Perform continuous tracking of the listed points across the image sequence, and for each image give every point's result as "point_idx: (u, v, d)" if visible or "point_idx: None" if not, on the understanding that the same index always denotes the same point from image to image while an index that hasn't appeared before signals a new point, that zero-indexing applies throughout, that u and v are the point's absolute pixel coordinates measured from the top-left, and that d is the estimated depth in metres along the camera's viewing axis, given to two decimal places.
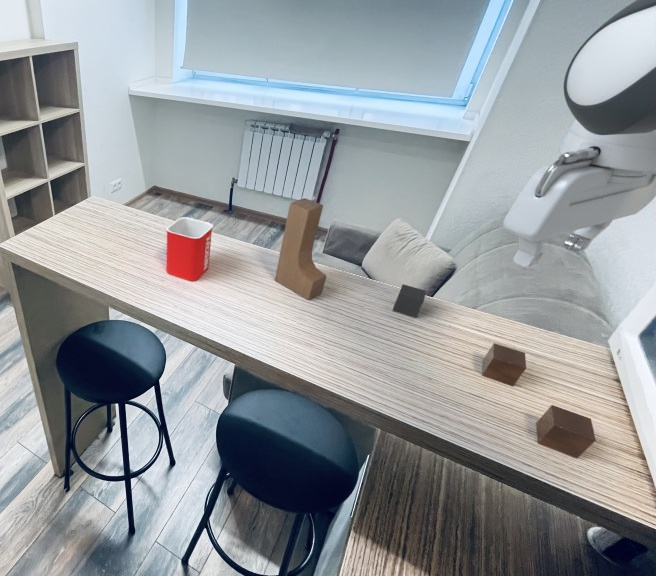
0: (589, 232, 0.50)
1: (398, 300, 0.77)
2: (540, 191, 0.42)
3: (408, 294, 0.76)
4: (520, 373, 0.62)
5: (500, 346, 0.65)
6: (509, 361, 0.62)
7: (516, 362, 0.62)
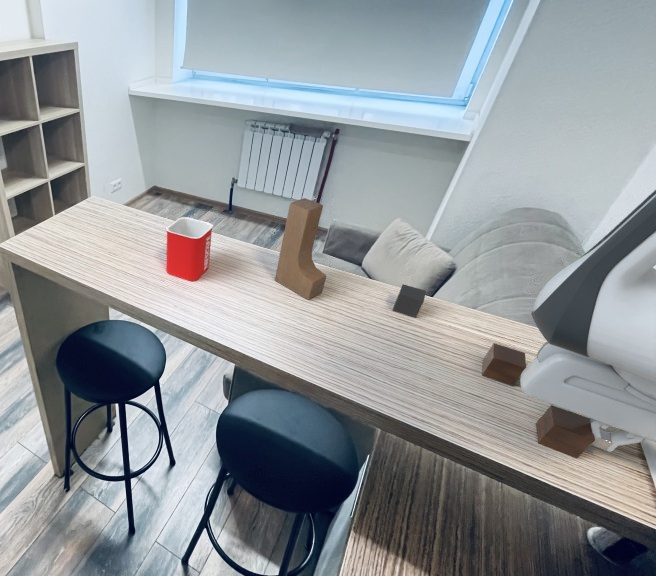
0: (618, 437, 0.51)
1: (398, 300, 0.77)
2: (537, 356, 0.52)
3: (408, 294, 0.76)
4: (520, 373, 0.62)
5: (500, 346, 0.65)
6: (509, 361, 0.62)
7: (516, 362, 0.62)
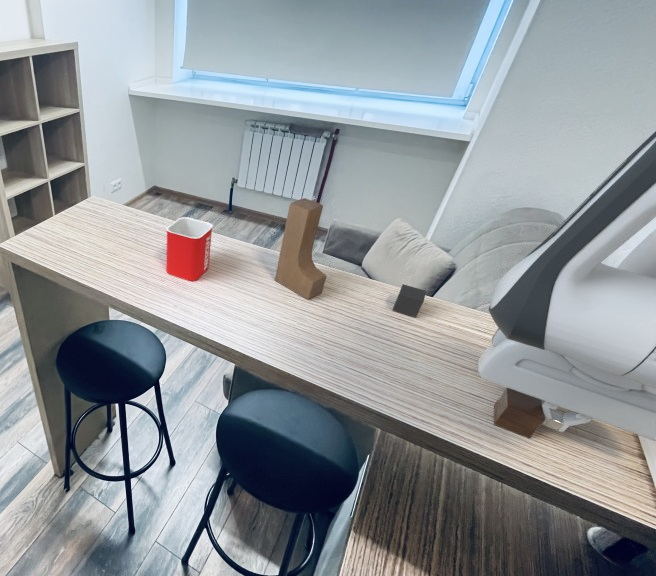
0: (568, 418, 0.53)
1: (398, 300, 0.77)
2: (492, 341, 0.54)
3: (408, 294, 0.76)
4: None
5: None
6: None
7: None
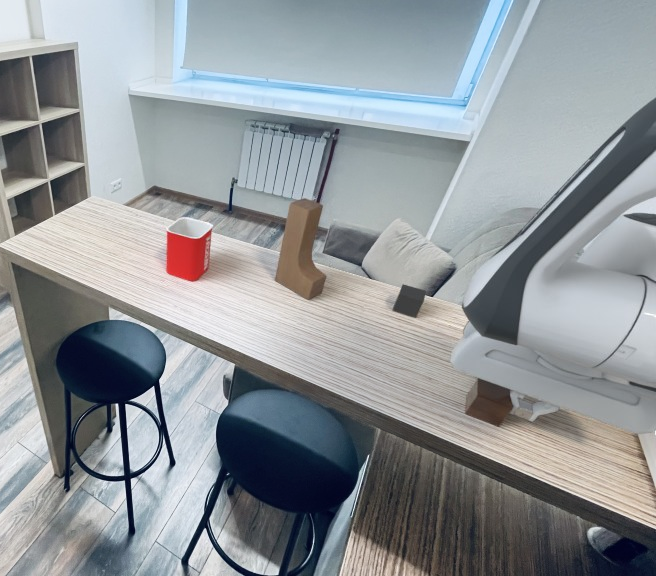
0: (538, 407, 0.55)
1: (398, 300, 0.77)
2: (463, 333, 0.56)
3: (408, 294, 0.76)
4: None
5: None
6: None
7: None
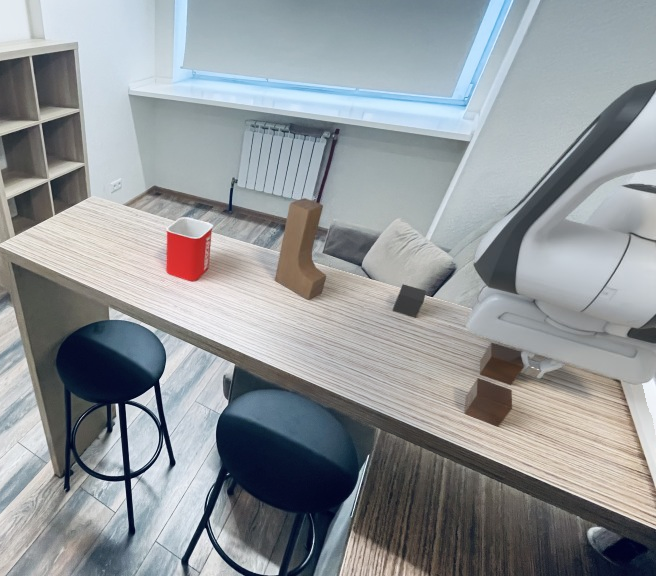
0: (545, 365, 0.61)
1: (398, 300, 0.77)
2: (478, 299, 0.62)
3: (408, 294, 0.76)
4: (518, 372, 0.62)
5: (498, 345, 0.65)
6: (507, 360, 0.62)
7: (514, 361, 0.62)
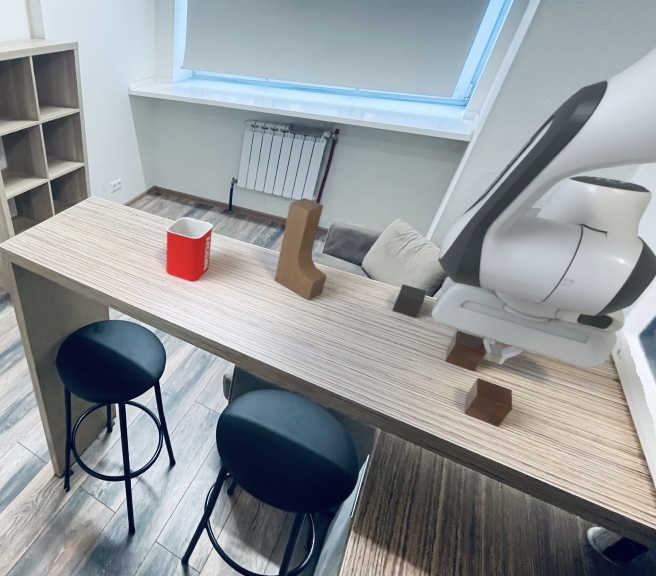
0: (506, 352, 0.63)
1: (398, 300, 0.77)
2: (442, 288, 0.64)
3: (408, 294, 0.76)
4: (480, 358, 0.64)
5: (463, 333, 0.67)
6: (470, 347, 0.65)
7: (476, 348, 0.64)
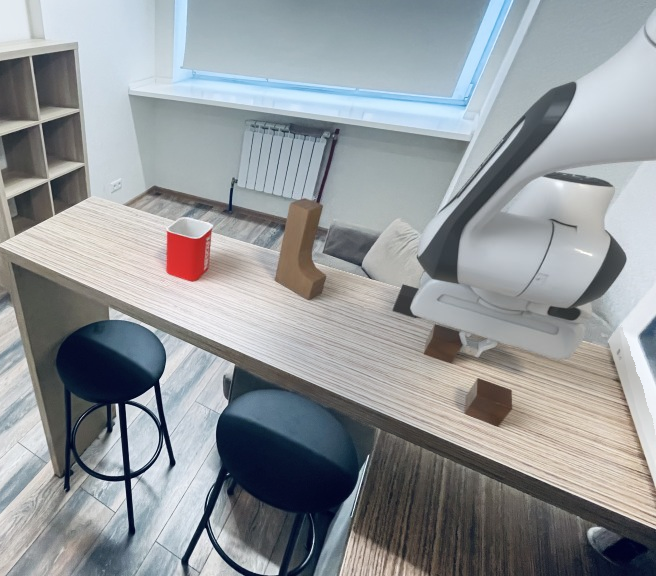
0: (482, 344, 0.65)
1: (398, 300, 0.77)
2: (420, 282, 0.66)
3: (408, 294, 0.76)
4: (456, 351, 0.66)
5: (441, 326, 0.69)
6: (447, 339, 0.66)
7: (453, 341, 0.66)
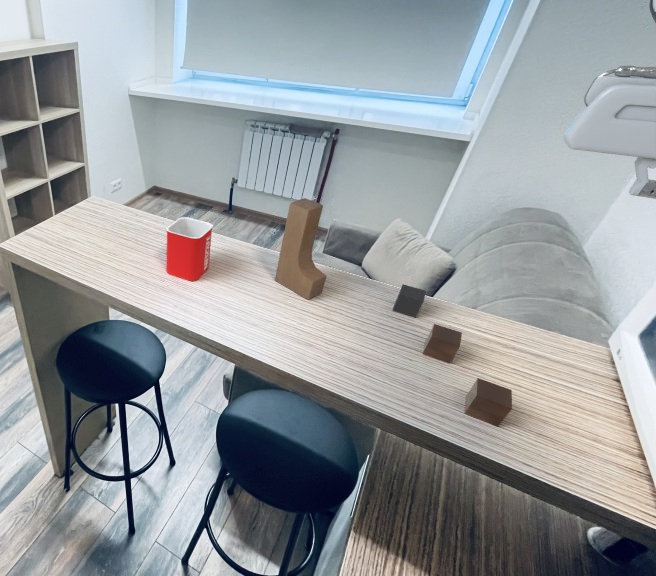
0: None
1: (398, 300, 0.77)
2: (585, 99, 0.49)
3: (408, 294, 0.76)
4: (455, 351, 0.66)
5: (440, 326, 0.69)
6: (445, 339, 0.66)
7: (452, 341, 0.66)
